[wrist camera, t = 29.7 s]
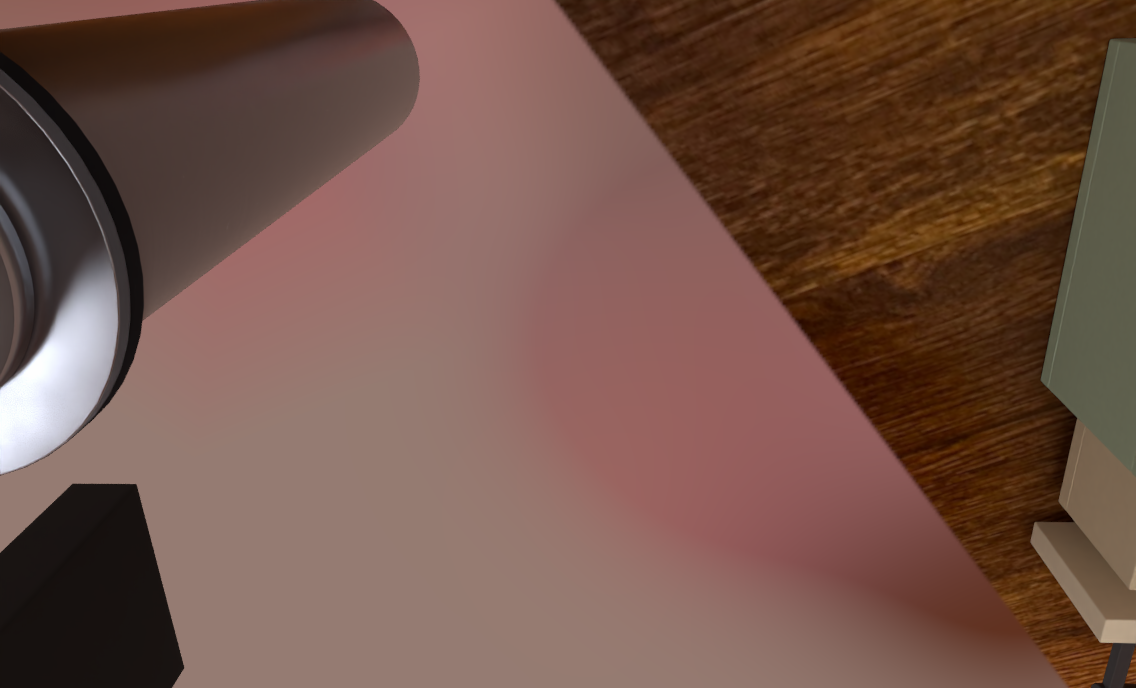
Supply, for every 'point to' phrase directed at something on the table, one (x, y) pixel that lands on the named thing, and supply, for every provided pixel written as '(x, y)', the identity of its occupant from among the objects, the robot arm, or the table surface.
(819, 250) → the table surface
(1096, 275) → the cabinet
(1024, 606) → the table surface
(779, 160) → the table surface
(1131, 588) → the drawer
